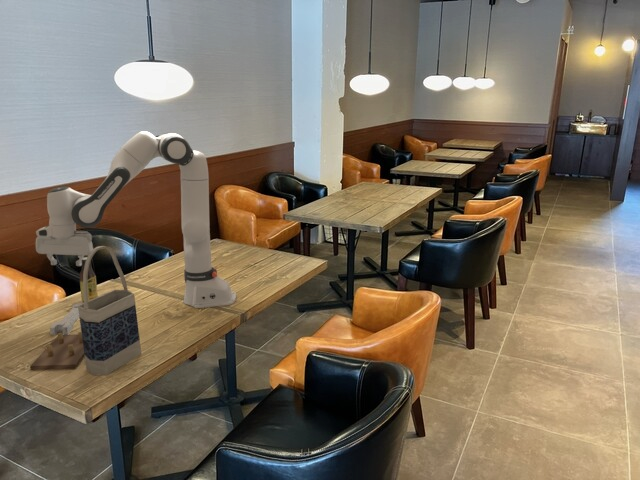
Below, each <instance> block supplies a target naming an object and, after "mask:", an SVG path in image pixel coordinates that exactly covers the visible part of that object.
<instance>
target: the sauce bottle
mask: <svg viewBox="0 0 640 480" xmlns="http://www.w3.org/2000/svg"><path fill="white" fill-rule="evenodd" d="M87 257H88V256H84V258H83V259H82V265H81V270H80V272H79V286H80V296H81V303H84V298H83V272H84V266H85V262H86V260H87ZM97 284H98V283H97V276H96V273H95V272H94V270H93V267H92V260H91V261H90V264H89V268H88V276H87V292H88V301H90V300H92V299H94V298H96V297H99V296H98V285H97Z"/></svg>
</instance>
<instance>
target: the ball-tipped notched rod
mask: <svg viewBox="0 0 640 480" xmlns="http://www.w3.org/2000/svg"><path fill="white" fill-rule="evenodd" d="M80 304H83V302H76V303H74V304H72V306H71V309H70V310H69V312H68V313H67V314H65V316H64V317H63V318H61V320H58V321H56V320H55V322H54V323H52V325H51V326H50V327H49V331H50V336H56V335H58V333H63V335H69V334H70V333H71V332H72V331H73V329H74V323H75V322H76V321H77V320H78V319H80V318H79V311H78V305H80Z"/></svg>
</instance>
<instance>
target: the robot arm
mask: <svg viewBox="0 0 640 480" xmlns="http://www.w3.org/2000/svg"><path fill="white" fill-rule="evenodd" d="M158 157H159V158H162V159H163V160H165V161H167V162H168V163H169V162H170V163H172V164H175V165H178V166H179V170H180V196H181V197H180V200H181V201H180V204H181V205H180V208H181V210H180V211H181V214H180V216H181V217H180V219H181V233H182V235H183V237H182V239H183V257H184V260H183V261H184V270H183V275H184V276H183V278H184V283H185V289H184V297H183V303H184V304H185V305H188V306H191V307H193V308H195V309H204V307H205V308H212V307H222V306H230V305H231V306H232V305H233V304H235V302H236V300H237V297H238V296H237V293H236V292H235V291H234V290H232V289H231V285H230V283H229V282H228V281H227V280H225V279H223V278H221V277H220V276H218V271H217V268H216V267H215V268H214V267H213V265H212V251H211V249H212V248H211V233H210V231H211V230H210V229H211V228H210V226H211V225H210V224H211V223H210V189H209V187H210V185H209V181H210V180H209V178H210V177H209V167H208V160H207V157H206V155H205V154H204V153H203V152H202V151H199V150H193V148H192V146H190V144H189V142H188V141H187V140H186V138H184V137H183V136H181V135H180V134H178V133H175V132H174V133H173V132H166V133H162V134H159V135H154V134H153V133H151V132H149V131H147V130H145V131H144V130H141V131H139V132H138V133H136V134H134V135H133V136H132V137H131V138H130V139H128V140H127V141H126V142H125V143H124V144H123V145H122V146H121V147H120V149H119V150H118V151H117V152H116V153H115V154H114V156H113V158H112V160H111V162H110V167H109V171H108V174H107V176H106V177H105V179H104V180H103V182H102V183H101V184H100V185H99V186H98V188H96V190H95V191H94V192H93V193H92V194H87V193H82V192H80V191H77V190H76V189H75V190H74V189H72V188H71V187H69V186H59V187H55V188H52V189H51V190H49V191H48V193H47V196H46V205H47V213H48V215H49V221H48V225H46V226H44V227H40V228H39V229H37V230H35V234H36V236H37V237H36V238H35V251H36V253H38V254H40V255H46V257H47V258H48V260H49V261H50V265H51V266H56V265H57V264H58V260H57V259H55V258H54V256H53V255H60V256H61V255H62V256H63V255H64V256H68V255H69V256H77V258H79V259H77V260H76V261H75V266H77V267H82V259H83V258H84V257H88V255H89V254H90V252H91V251H92V250H93V249H94V245H93V242H92V241H93V237H92V234H91V233H90V232H88V230H87V231H86V230H77V226H79V227H81V228H85V229H90V228H91V229H92V228H94V227H96V226H97V225H99V223H100V222H101V221H102V219H103V217H104V213H105V210H106V208H107V206H108V205H109V204H110V203H111V201H112V200H114V198H115V197H116V196H117V195H118V194H119V192H120V191H121V190H122V189H123V188H124V187H125V186H127V184H129V183H130V182H131V181H132V180H133V179H134V178H135V177H137V176H138V175H139V174H140V173H142V172H143V170H145V169H146V167H148V164H149V163H151V161H153V160H154V159H156V158H158Z"/></svg>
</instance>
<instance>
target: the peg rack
mask: <svg viewBox="0 0 640 480" xmlns="http://www.w3.org/2000/svg"><path fill="white" fill-rule="evenodd" d="M83 359H85V356H84V348H83V341H82V333H81V331H80V332H78V333H77V334H75V333H74V334H73V333H72V334H70V333H69V334H68V335H63V332H58V333H57V336H56V337H55V338H54V339H53V340H52V341H51V342H50V343H49V344H48V345H46V348H45V349H44V350H43V351H42V352H41V354H40V355H38V357H37V358H36V359H35V360H34V361H33V362H32V363H31V365H29V366H30V371H38V370H39V371H42V370H43V371H45V370H65V369H66V370H69V369H70V370H71V369H72V370H73V369H77V368H78V367H79V365H80V363H82V362H83Z"/></svg>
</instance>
